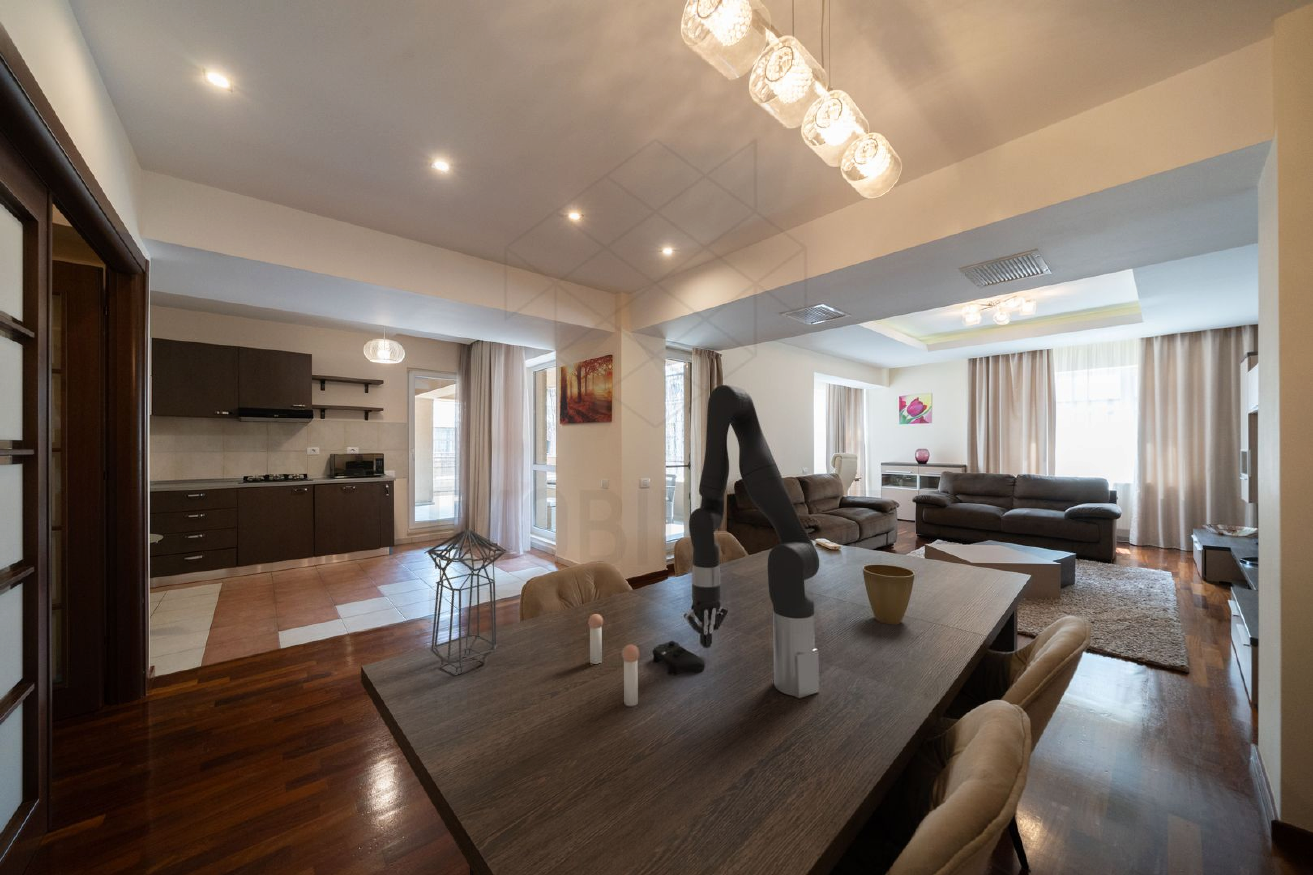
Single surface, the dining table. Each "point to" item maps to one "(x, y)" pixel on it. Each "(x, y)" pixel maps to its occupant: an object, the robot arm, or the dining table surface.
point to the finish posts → (628, 654)
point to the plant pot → (888, 591)
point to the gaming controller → (677, 658)
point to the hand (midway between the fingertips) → (706, 646)
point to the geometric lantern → (481, 542)
